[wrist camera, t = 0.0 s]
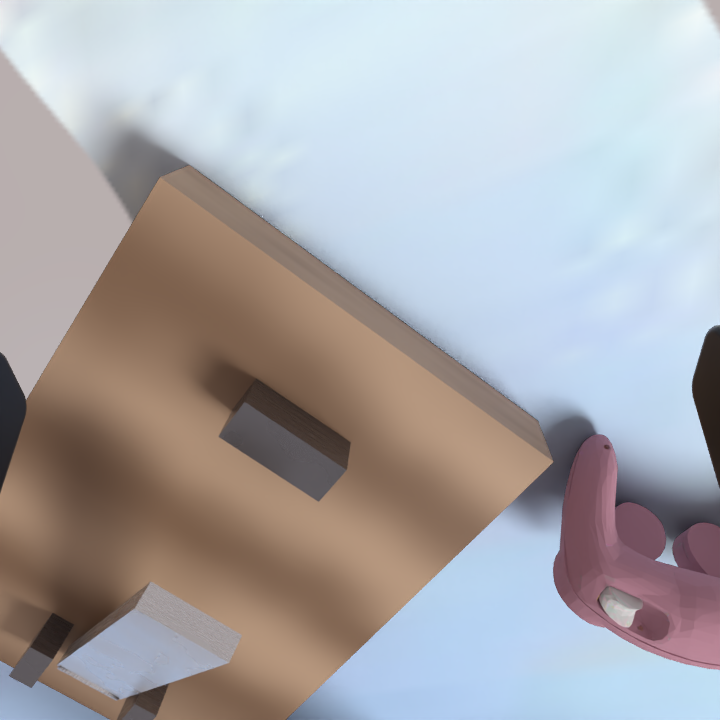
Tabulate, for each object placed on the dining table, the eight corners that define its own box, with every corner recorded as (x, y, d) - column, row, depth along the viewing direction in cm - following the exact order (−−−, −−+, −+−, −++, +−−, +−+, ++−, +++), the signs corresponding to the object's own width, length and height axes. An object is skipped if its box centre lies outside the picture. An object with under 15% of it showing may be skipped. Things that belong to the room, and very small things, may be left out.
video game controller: (537, 476, 29) (538, 641, 24) (587, 418, 25) (598, 598, 21) (751, 533, 29) (790, 705, 25) (828, 484, 26) (891, 674, 21)
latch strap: (128, 681, 29) (116, 702, 28) (66, 647, 28) (53, 668, 28) (242, 635, 19) (227, 666, 18) (150, 581, 18) (132, 612, 18)
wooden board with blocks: (237, 722, 34) (222, 779, 31) (-53, 560, 31) (-98, 608, 28) (537, 421, 26) (553, 461, 23) (189, 164, 23) (159, 177, 20)
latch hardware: (148, 704, 29) (132, 741, 28) (32, 640, 28) (8, 676, 26) (370, 455, 24) (367, 484, 22) (235, 364, 22) (222, 386, 21)
